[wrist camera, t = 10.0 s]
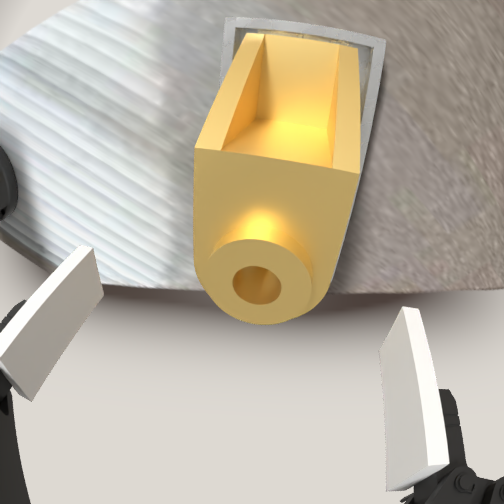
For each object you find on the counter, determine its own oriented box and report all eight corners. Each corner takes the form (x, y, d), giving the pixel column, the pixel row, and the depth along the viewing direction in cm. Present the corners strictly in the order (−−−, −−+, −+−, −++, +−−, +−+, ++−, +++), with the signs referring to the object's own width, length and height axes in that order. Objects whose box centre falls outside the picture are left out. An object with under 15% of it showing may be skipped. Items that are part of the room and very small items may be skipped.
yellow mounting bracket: (318, 234, 35) (313, 346, 22) (237, 219, 36) (188, 321, 23) (353, 50, 24) (391, 34, 11) (254, 36, 25) (192, 11, 12)
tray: (218, 243, 40) (210, 259, 37) (235, 21, 25) (225, 17, 22) (331, 264, 38) (331, 282, 35) (378, 42, 24) (386, 40, 21)
